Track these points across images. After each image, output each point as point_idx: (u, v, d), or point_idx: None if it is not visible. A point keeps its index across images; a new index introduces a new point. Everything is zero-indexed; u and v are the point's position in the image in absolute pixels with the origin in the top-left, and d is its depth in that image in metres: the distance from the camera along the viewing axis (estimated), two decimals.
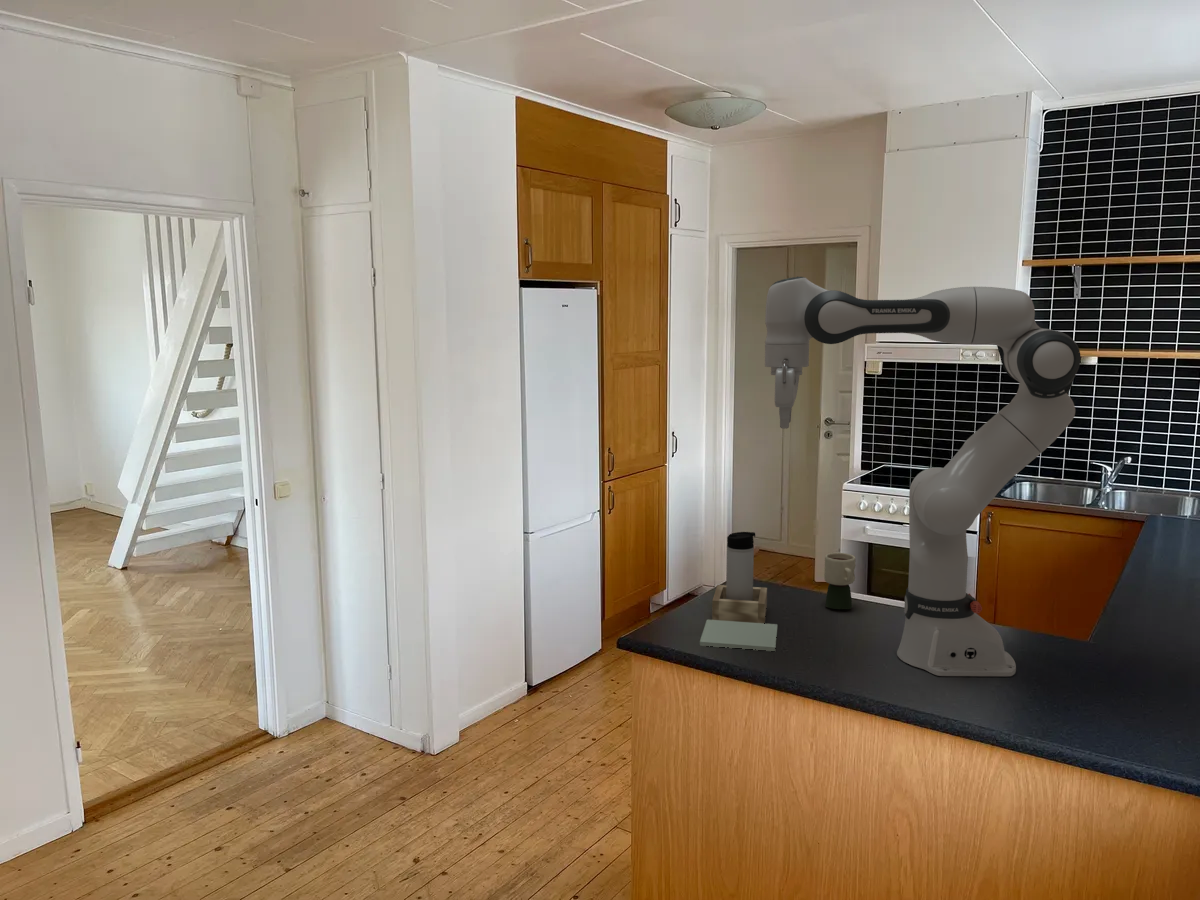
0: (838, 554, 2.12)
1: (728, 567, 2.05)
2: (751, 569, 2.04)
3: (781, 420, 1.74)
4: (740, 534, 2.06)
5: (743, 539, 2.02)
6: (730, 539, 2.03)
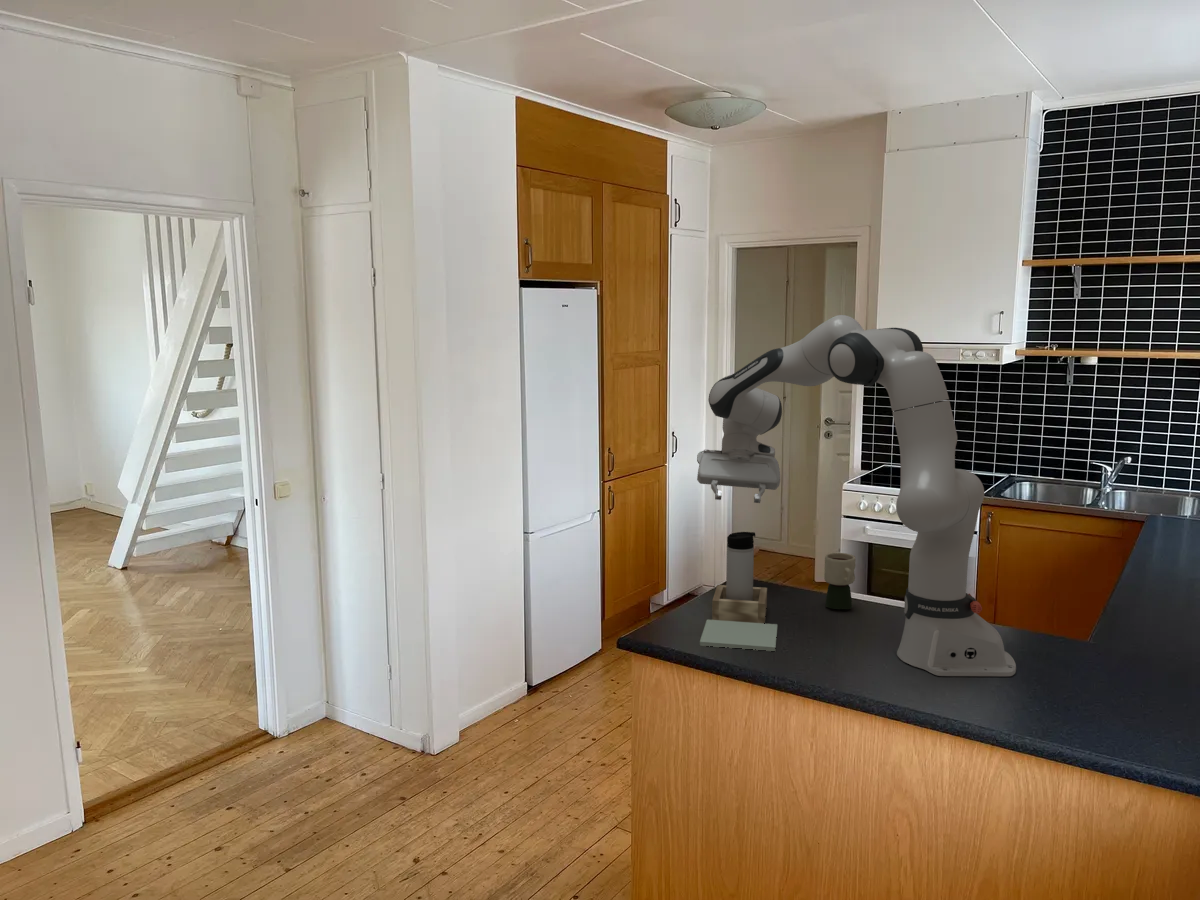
0: (838, 554, 2.12)
1: (728, 567, 2.05)
2: (751, 569, 2.04)
3: (715, 493, 2.13)
4: (740, 534, 2.06)
5: (743, 539, 2.02)
6: (730, 539, 2.03)
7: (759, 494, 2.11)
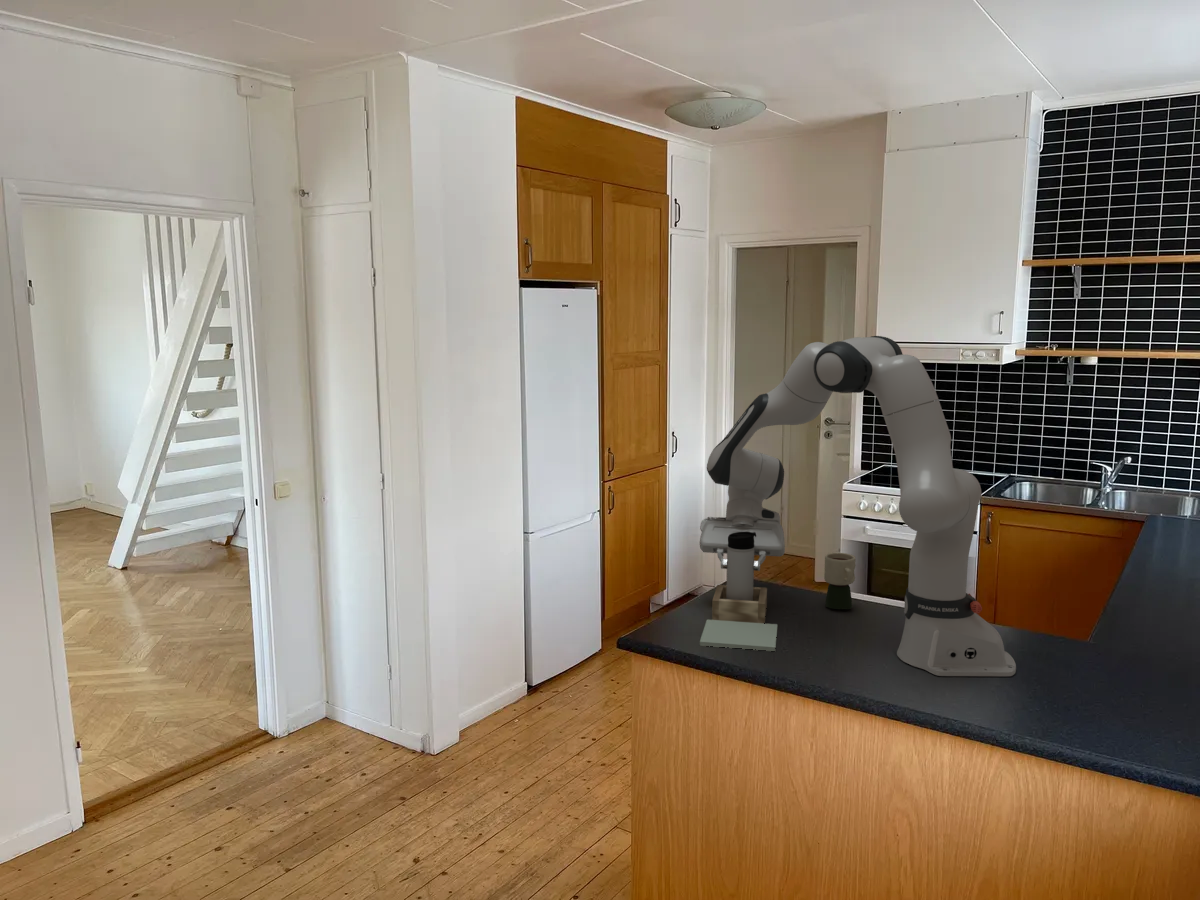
0: (838, 554, 2.12)
1: (728, 567, 2.05)
2: (751, 569, 2.04)
3: (721, 562, 2.08)
4: (741, 534, 2.06)
5: (744, 539, 2.02)
6: (731, 539, 2.03)
7: (758, 561, 2.04)
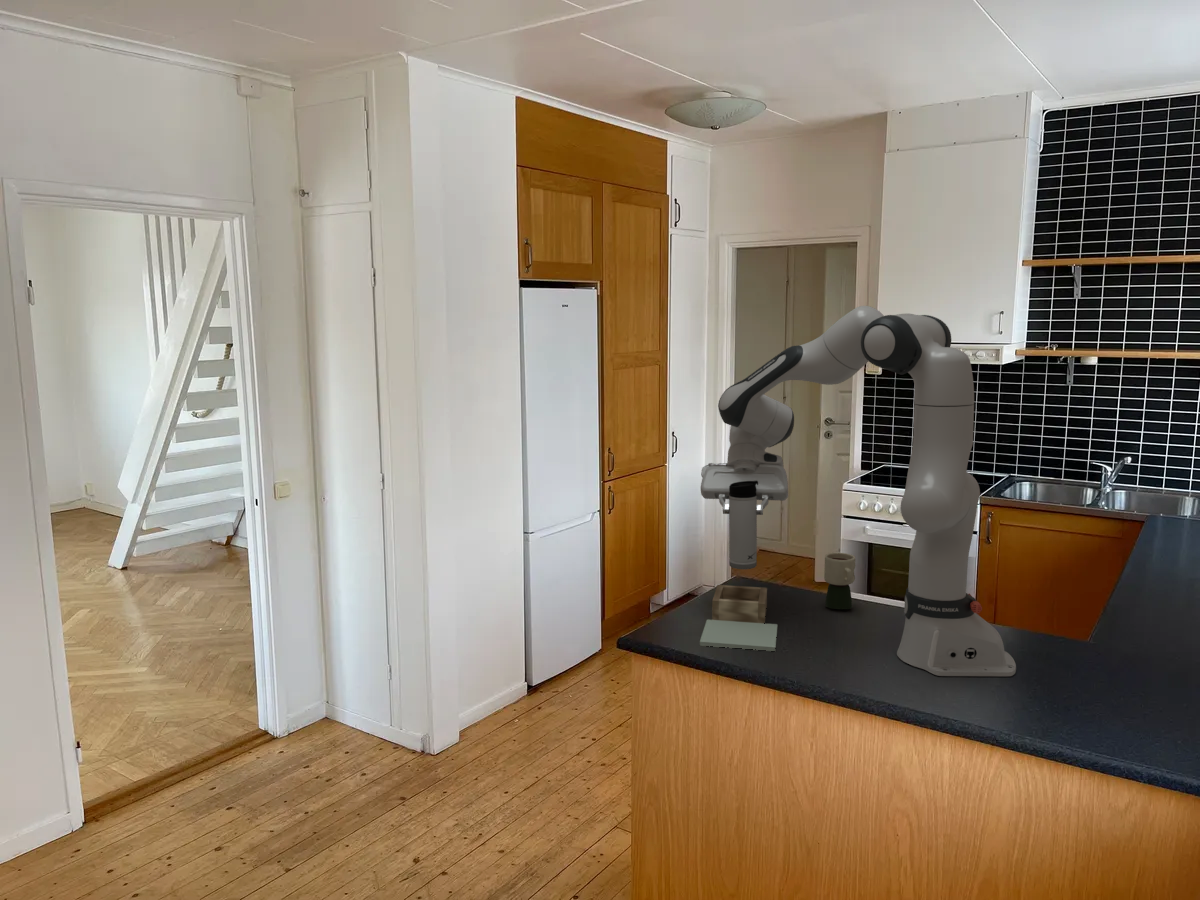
0: (838, 554, 2.12)
1: (731, 517, 1.99)
2: (754, 518, 1.98)
3: None
4: (742, 483, 2.01)
5: (746, 487, 1.96)
6: (732, 488, 1.98)
7: (761, 505, 1.99)
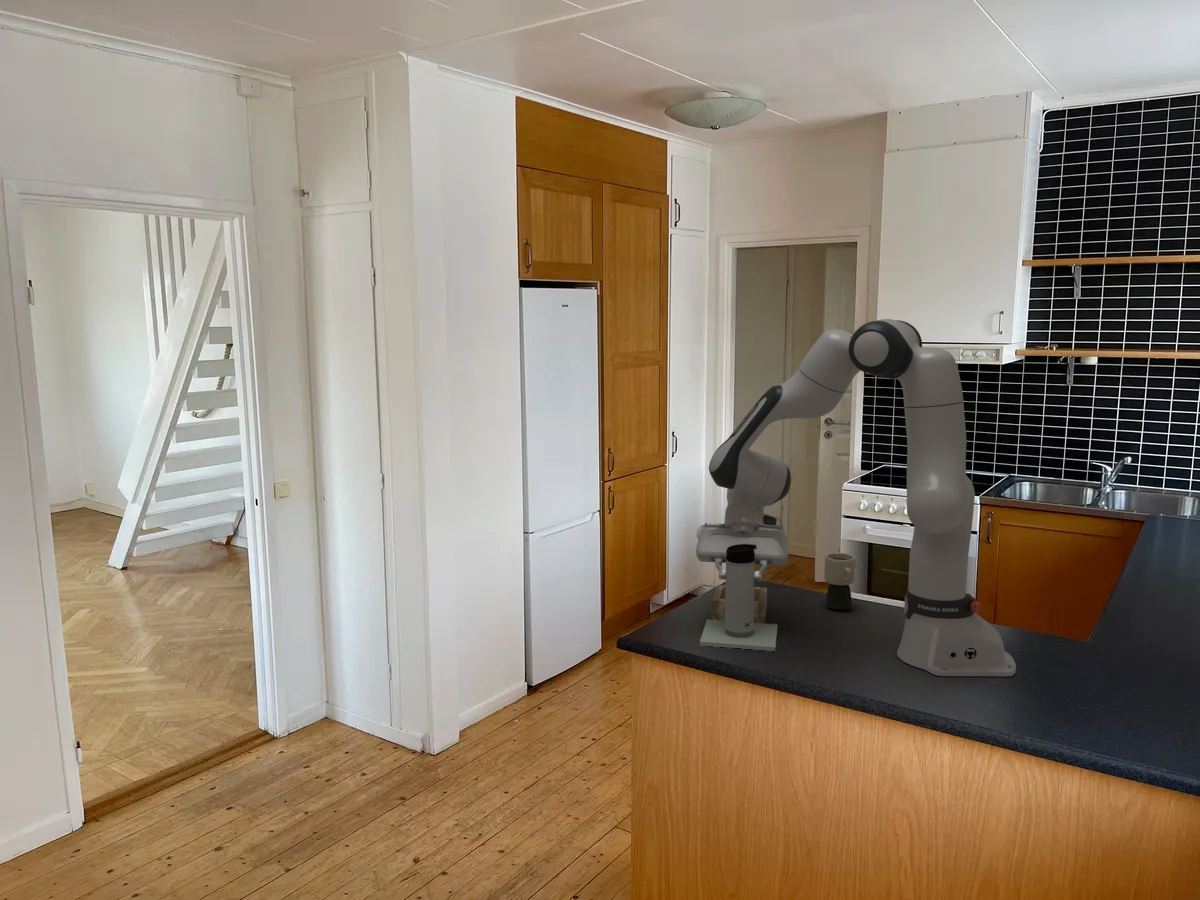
0: (838, 554, 2.12)
1: (727, 582, 1.90)
2: (752, 584, 1.89)
3: None
4: (740, 546, 1.92)
5: (744, 552, 1.87)
6: (730, 552, 1.88)
7: (759, 572, 1.89)
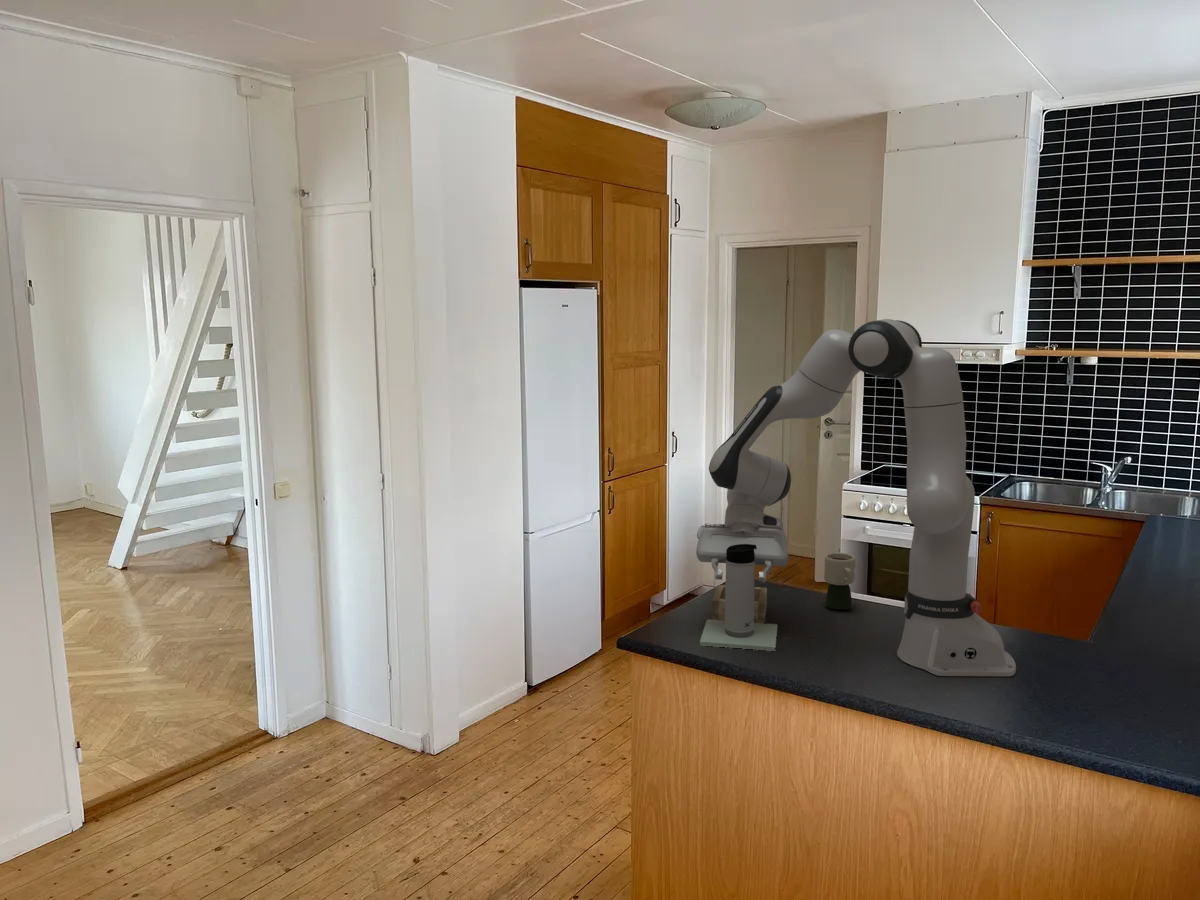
0: (838, 554, 2.12)
1: (727, 582, 1.90)
2: (752, 584, 1.89)
3: None
4: (740, 546, 1.92)
5: (744, 552, 1.87)
6: (730, 552, 1.88)
7: (764, 572, 1.89)
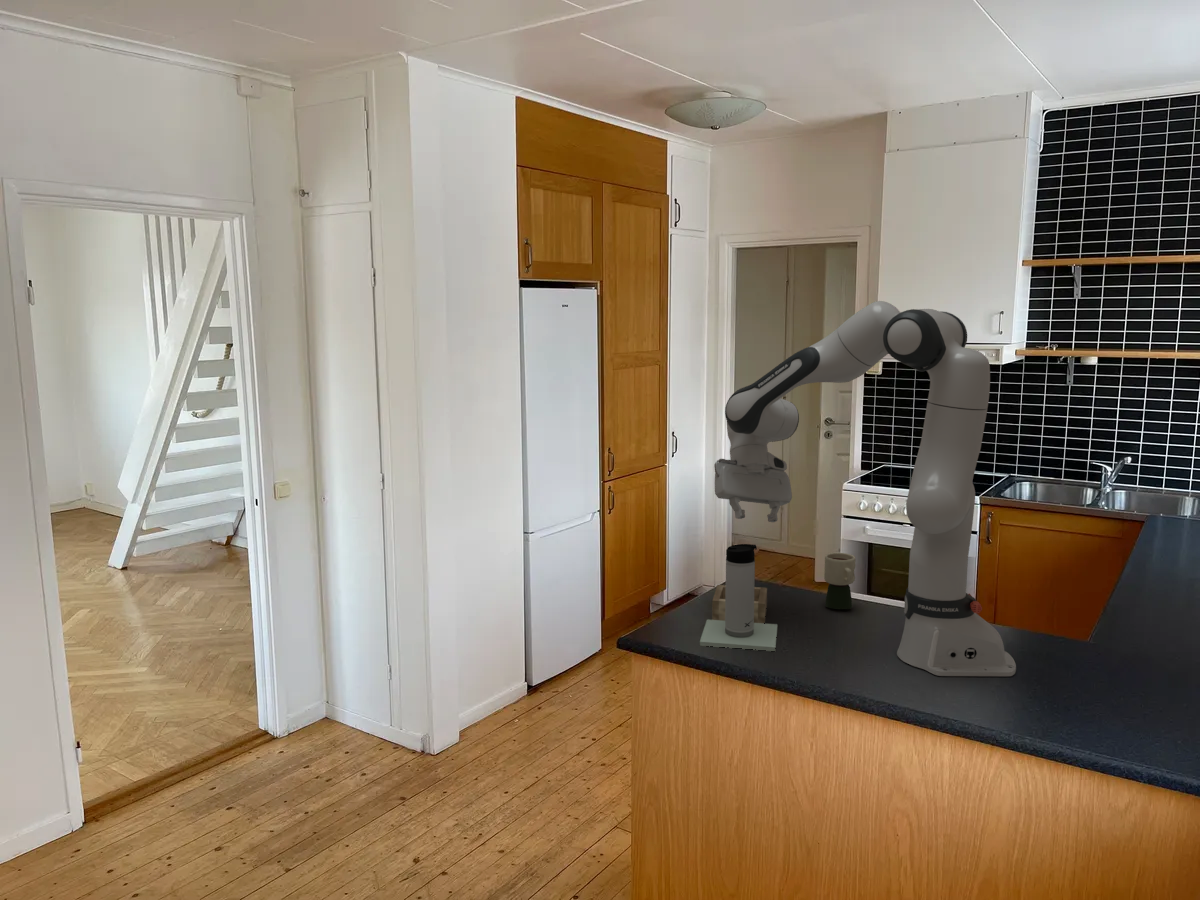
0: (838, 554, 2.12)
1: (727, 582, 1.90)
2: (752, 584, 1.89)
3: (735, 511, 1.97)
4: (740, 546, 1.92)
5: (744, 552, 1.87)
6: (730, 552, 1.88)
7: (776, 514, 2.01)
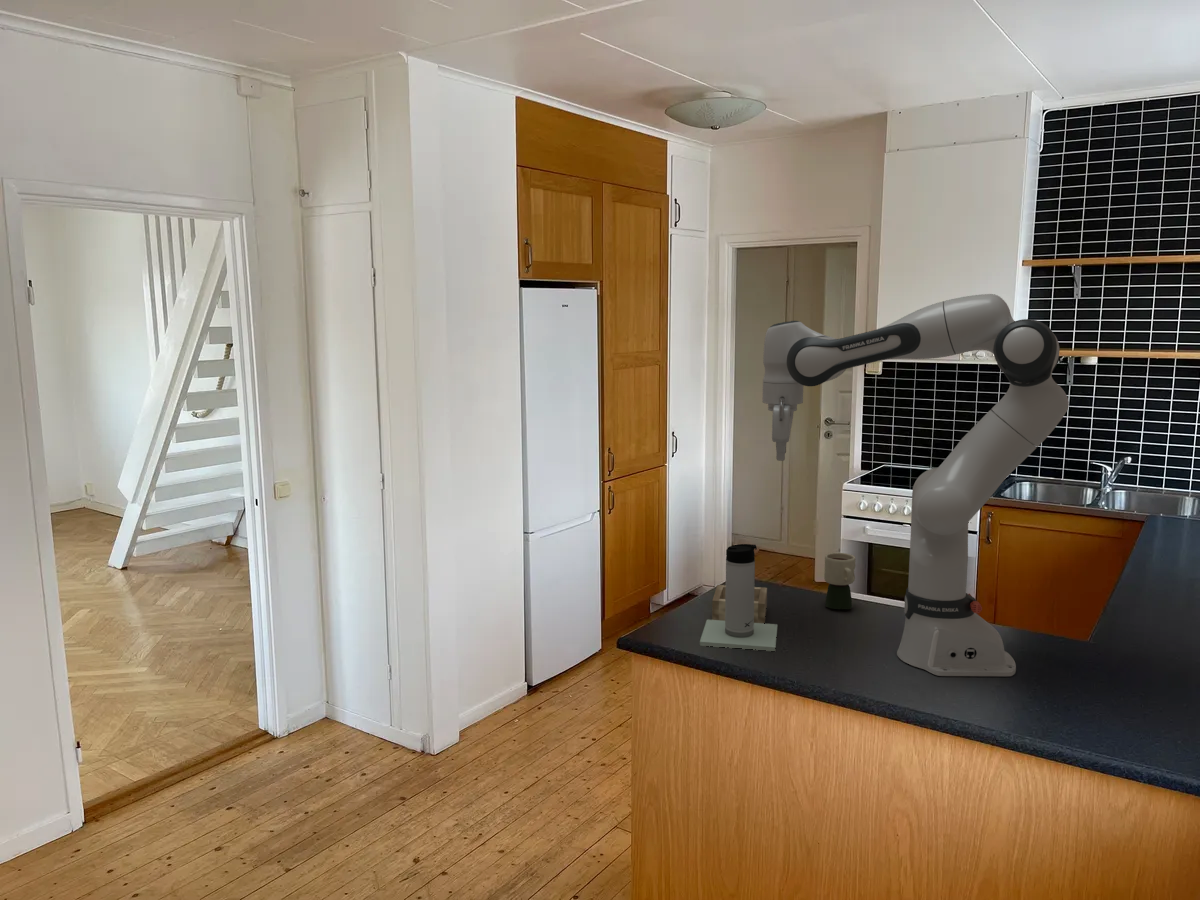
0: (838, 554, 2.12)
1: (727, 582, 1.90)
2: (752, 584, 1.89)
3: (777, 453, 1.89)
4: (740, 546, 1.92)
5: (744, 552, 1.87)
6: (730, 552, 1.88)
7: None
